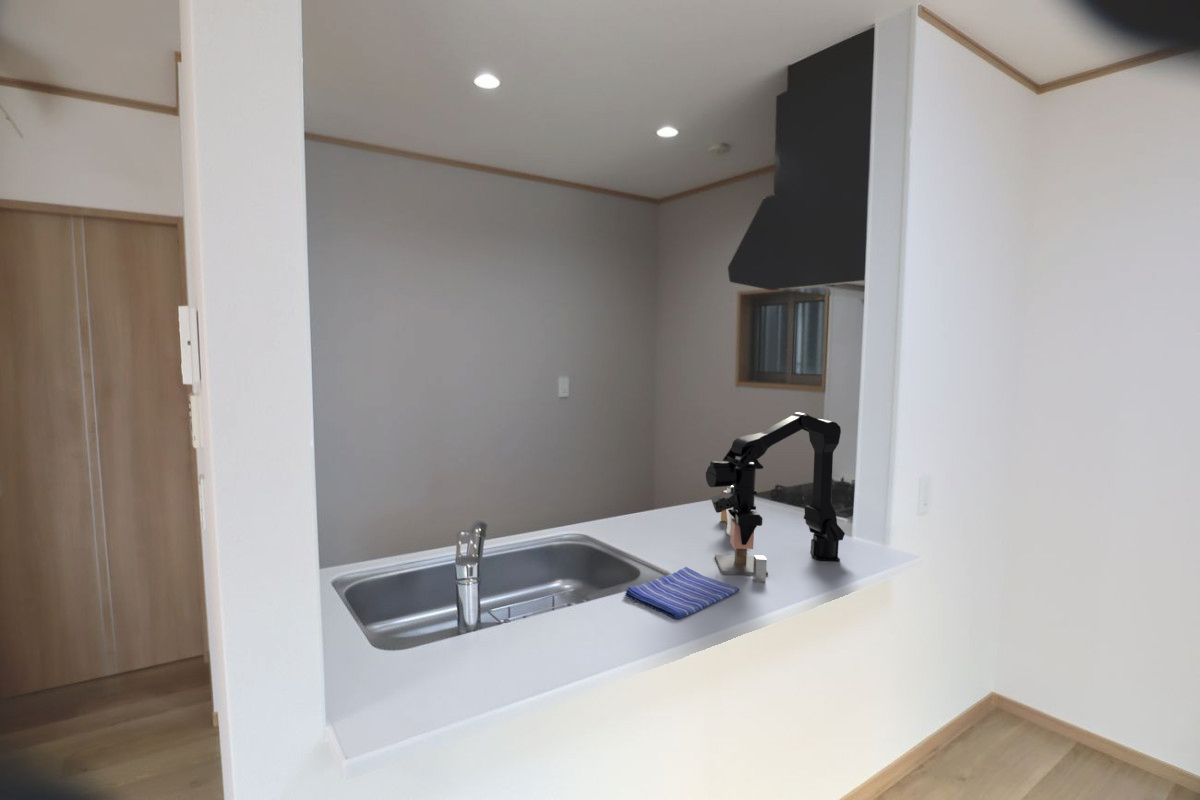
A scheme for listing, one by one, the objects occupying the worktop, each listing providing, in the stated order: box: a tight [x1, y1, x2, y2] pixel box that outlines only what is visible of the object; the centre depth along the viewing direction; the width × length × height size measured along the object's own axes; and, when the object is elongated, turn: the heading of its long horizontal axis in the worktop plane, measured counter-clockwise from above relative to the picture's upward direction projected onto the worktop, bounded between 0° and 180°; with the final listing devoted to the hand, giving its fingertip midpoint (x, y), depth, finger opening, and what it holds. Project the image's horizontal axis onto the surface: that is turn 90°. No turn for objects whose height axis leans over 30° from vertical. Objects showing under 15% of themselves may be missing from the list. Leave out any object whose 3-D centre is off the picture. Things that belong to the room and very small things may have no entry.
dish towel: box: [624, 566, 740, 620], centre depth 142 cm, size 17×24×3 cm
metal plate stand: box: [714, 549, 769, 576], centre depth 160 cm, size 12×12×6 cm
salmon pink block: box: [729, 519, 755, 550], centre depth 159 cm, size 5×5×7 cm
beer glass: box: [725, 485, 734, 537], centre depth 186 cm, size 7×7×15 cm
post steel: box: [752, 554, 768, 583], centre depth 151 cm, size 3×3×6 cm
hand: (741, 541), depth 160 cm, fingers closed on salmon pink block, 5 cm apart
